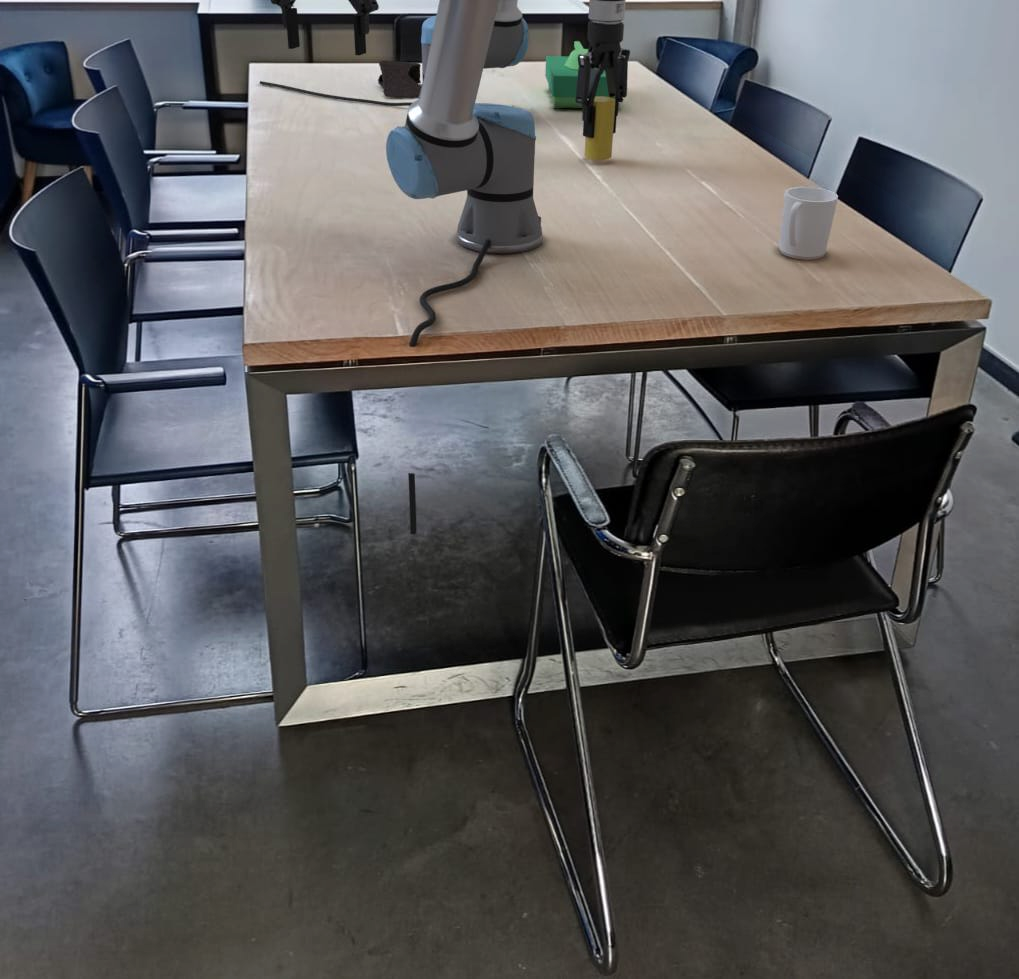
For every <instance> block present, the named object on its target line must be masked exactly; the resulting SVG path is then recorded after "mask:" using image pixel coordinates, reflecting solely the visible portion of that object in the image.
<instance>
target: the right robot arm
mask: <svg viewBox="0 0 1019 979" xmlns="http://www.w3.org/2000/svg"><path fill="white" fill-rule="evenodd" d="M296 1H297V0H270V2H271V4H272V5H276V6H278V7H279V8H280V9H281V19H282V27H283V28H284V29H286V36H287V48H288V50H293V49H297V48H300V47H301V42H300V32H299V31H300V30H299V19H298V18H299V16H298V8H297V7H295V5H294V4H295V3H296ZM347 1H348V2H349V4H350V5H351V6H352V8H353V9H354V11H355V12H356V14H354V15H353V18H352V19H353V33H354V34H353V37H354V56H362V55H364V54H367V42H366V41H367V40H366V35H369V33H370V14H371V13H374V12H376V11H378V10H379V8H380V6H379V4H378V1H377V0H347ZM499 1H500V0H439V1H438V6H437V12H436V15H437V16H436V15H435V16H436V21H435V26H434V31H433V36H432V41H431V46H430V51H429V56H428V61H427V66H426V72H425V77H424V82H423V81H422V83H423V87H422V92H421V97H420V99H419V98H418V99H419V100H418V99H417V100H414V101H413V103H412V104H411V105H410V106H408V109H407V114H406V117H405V118H406V119H405V124H404V125H403V126H400V125H398V126H396V127H395V128H394V129H391V130H390V131H389V133H388V134H387V138H386V142H385V150H386V151H385V152H386V160H387V164H388V168H389V171H390V173H391V176H392V178H393V180H394V182H395V184H396V185H397V187H398V188H399V189H400V191H401V192H402V193H403V194H405V195H406V196H407V197H408V198H410V199H414V200H424V199H436V198H437V197H440V196H445V195H451V194H456V193H460V192H467V193H466V198H465V202H464V205H463V209H462V211H461V214H460V218H459V220H458V224H457V228H456V241H457V243H458V244H459V245H461V246H462V247H464V248H466V249H468V250H470V251H475V252H479V253H478V256H477V257H476V259H475V261H474V263H473V265H472V267H471V271H470V273H469V274H468V275H467V276H465V277H464V278H462V279H460V280H458V281H454V282H453V281H452V282H450V283H445V284H441V285H438V286H434V287H431V288H429V289H427V290H425V291H423V292H422V294H421V295H420V297H419V303H420V305H421V307H422V308H423V309H424V310H425V312H426V313H427V314H428V319H426V320H424V321H422V322H420V323H419V324H418V325H417V326H416V327H415V329H414V330H413V332H412V335H411V338H410V341H409V347H410V348H415V347H416V346H417V343H418V340H419V338H420V335H421V334H422V332H423V331H424V330H426V329H427V328H429V327H431V326H432V325H434V323H435V322H436V319H437V318H436V316H437V315H436V312H435V310H434V309H433V307H431V305H430V304H429V302H427V299H428V298H429V297H430V296H433V295H435V294H437V293H441V292H446V291H450V290H455V289H458V288H461V287H463V286H466V285H468V284H469V283H470V282H472V281H474V279H475V278H476V276H477V275H478V272H479V268H480V266H481V264H482V262H483V260H484V258H485V256H486V254H497V255H499V254H500V255H506V254H507V255H508V254H517V253H524V252H527V251H530V250H533V249H536V248H538V247H539V246H540V245H541V244H542V243H543V229H542V217H541V216H539V214H538V213H539V212H538V210H537V206H536V204H535V199H534V184H535V181H534V180H535V158H536V156H535V154H536V140H537V136H536V121H535V117H534V115H533V114H532V113H531V112H529V111H528V110H526V109H523V108H521V107H516V106H511V105H506V104H500V103H499V104H498V103H486V102H476V101H477V97H478V93H479V88H480V85H481V81H482V76H483V72H484V69H483V68H484V64H485V59H486V55H487V51H488V47H489V43H490V38H491V34H492V30H493V26H494V22H495V17H496V13H497V9H498V5H499ZM407 475H408V476H407V477H408V498H409V499H408V500H409V529H410V534H411V535H414V536H415V535H417V533H418V532H417V500H416V499H417V497H416V475H415V473H414V472H413V473H412V472H411V473H410V472H408V473H407Z"/></svg>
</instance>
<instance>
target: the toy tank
mask: <svg viewBox="0 0 1019 979" xmlns="http://www.w3.org/2000/svg"><path fill="white" fill-rule="evenodd" d="M573 43H574V44H573V45H574V46H573V47H574V49H573V50H572V51H571V52H570V54H569V56H567V55H566V56H565V55H564V56H559V55H556V56H555V55H546V56H545V74H544V76H545V79H546V81H547V85H548V86H547V87H548V91H549V92H551V96H552V104H553V108H554V109H583V106H582V105H581V104H579V103H576V90H577V79H578V69H579V64H578V55H579V54H582V55H584V54H586V53H587V52H588V49H589V48H584V47H583V45H582V43H581V42H580V41H579V40H576V41H574V42H573ZM594 69H597V68H595V67H594ZM621 91H622V90H621ZM595 96H604V97H609V93H608V86H607V80H606V73H605V70H604V72H603V74H602V75H601V76H600V80H599V84H598V88H597V92H596V95H595Z"/></svg>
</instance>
